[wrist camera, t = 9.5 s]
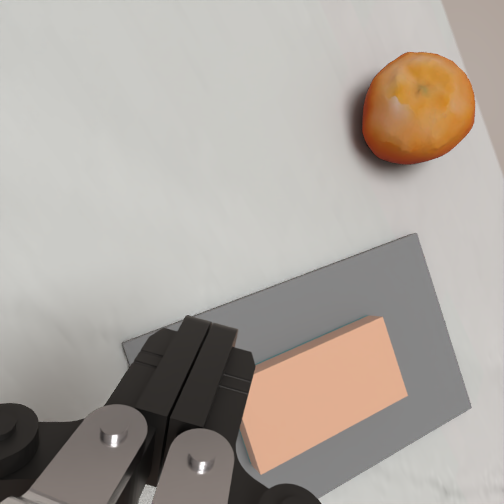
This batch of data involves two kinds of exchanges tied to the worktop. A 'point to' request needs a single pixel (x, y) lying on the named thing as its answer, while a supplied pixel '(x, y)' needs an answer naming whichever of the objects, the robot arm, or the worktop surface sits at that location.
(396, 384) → the tile
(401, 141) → the fruit
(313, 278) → the mat
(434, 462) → the worktop surface
